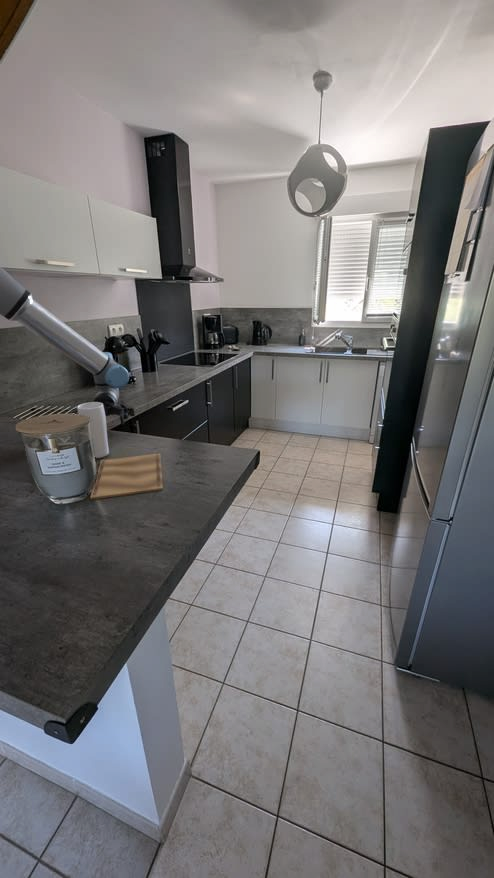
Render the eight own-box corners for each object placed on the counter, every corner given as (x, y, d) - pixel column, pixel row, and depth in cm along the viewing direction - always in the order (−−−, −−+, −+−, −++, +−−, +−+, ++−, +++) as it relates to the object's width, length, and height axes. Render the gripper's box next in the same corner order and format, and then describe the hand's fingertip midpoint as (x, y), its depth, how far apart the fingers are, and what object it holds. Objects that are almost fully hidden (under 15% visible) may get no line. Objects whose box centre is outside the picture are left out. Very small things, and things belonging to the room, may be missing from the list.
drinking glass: (101, 461, 99) (91, 410, 93) (81, 458, 100) (70, 407, 95) (116, 451, 104) (108, 402, 99) (97, 449, 106) (88, 400, 101)
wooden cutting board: (101, 462, 98) (100, 459, 98) (160, 455, 102) (160, 453, 102) (90, 500, 80) (89, 497, 80) (162, 490, 84) (162, 487, 84)
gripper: (143, 409, 128) (143, 430, 109) (68, 416, 122) (54, 439, 103) (140, 389, 125) (139, 406, 106) (64, 395, 119) (48, 414, 100)
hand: (97, 423), depth 104 cm, fingers open, 13 cm apart
